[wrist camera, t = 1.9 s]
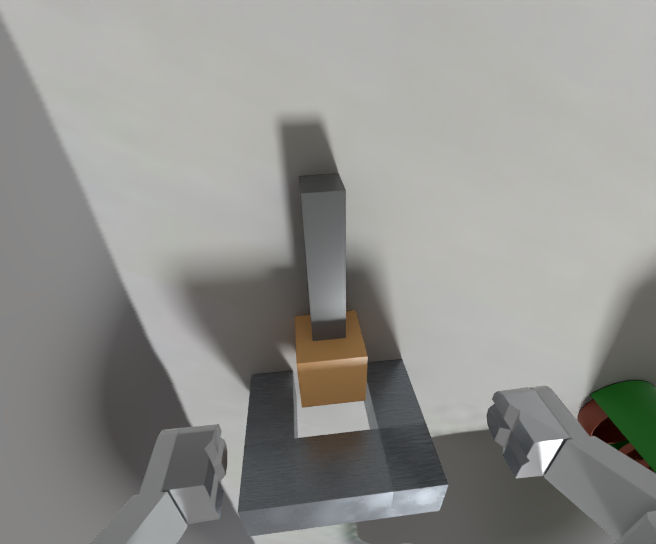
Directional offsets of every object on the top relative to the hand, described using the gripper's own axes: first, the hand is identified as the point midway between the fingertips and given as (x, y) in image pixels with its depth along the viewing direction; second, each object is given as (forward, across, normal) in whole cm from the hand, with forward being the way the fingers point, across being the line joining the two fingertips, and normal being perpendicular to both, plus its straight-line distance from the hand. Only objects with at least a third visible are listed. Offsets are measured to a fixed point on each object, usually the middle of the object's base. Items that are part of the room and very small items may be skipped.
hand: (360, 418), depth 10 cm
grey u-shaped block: (+16, 0, +18) cm, 23 cm away
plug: (+16, 0, +6) cm, 17 cm away
